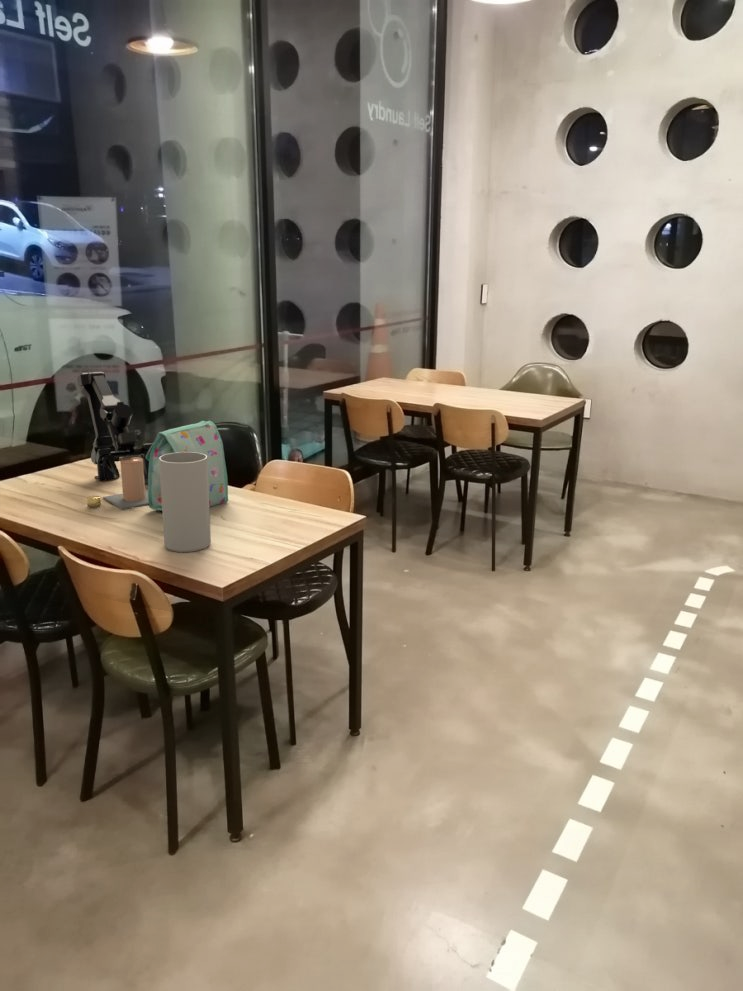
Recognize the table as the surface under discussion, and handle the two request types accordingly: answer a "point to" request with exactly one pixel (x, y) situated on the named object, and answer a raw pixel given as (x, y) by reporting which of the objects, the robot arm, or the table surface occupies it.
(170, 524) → the cylinder vase
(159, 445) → the lunch bag
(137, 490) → the terracotta cup
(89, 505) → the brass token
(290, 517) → the table surface
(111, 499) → the slate mat
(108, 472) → the robot arm
